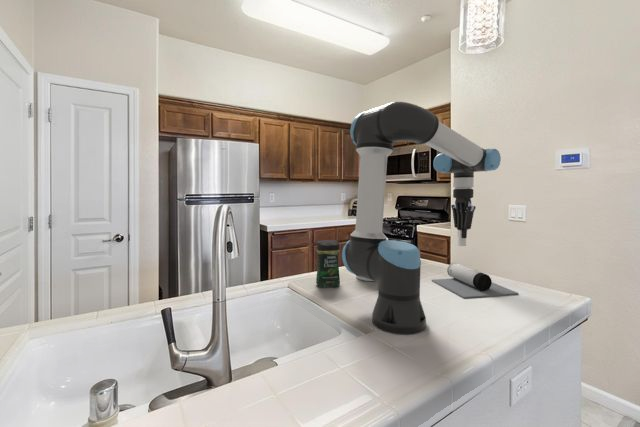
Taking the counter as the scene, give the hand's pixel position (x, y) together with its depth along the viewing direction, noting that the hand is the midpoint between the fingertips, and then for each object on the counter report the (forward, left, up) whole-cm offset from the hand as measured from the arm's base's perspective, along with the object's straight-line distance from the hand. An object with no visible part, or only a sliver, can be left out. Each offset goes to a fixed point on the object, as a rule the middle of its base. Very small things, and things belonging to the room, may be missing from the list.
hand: (461, 245), depth 130 cm
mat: (-7, 0, -15) cm, 17 cm away
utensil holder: (+15, +34, -16) cm, 40 cm away
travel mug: (+6, 0, -12) cm, 13 cm away
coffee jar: (+7, +55, -16) cm, 58 cm away
